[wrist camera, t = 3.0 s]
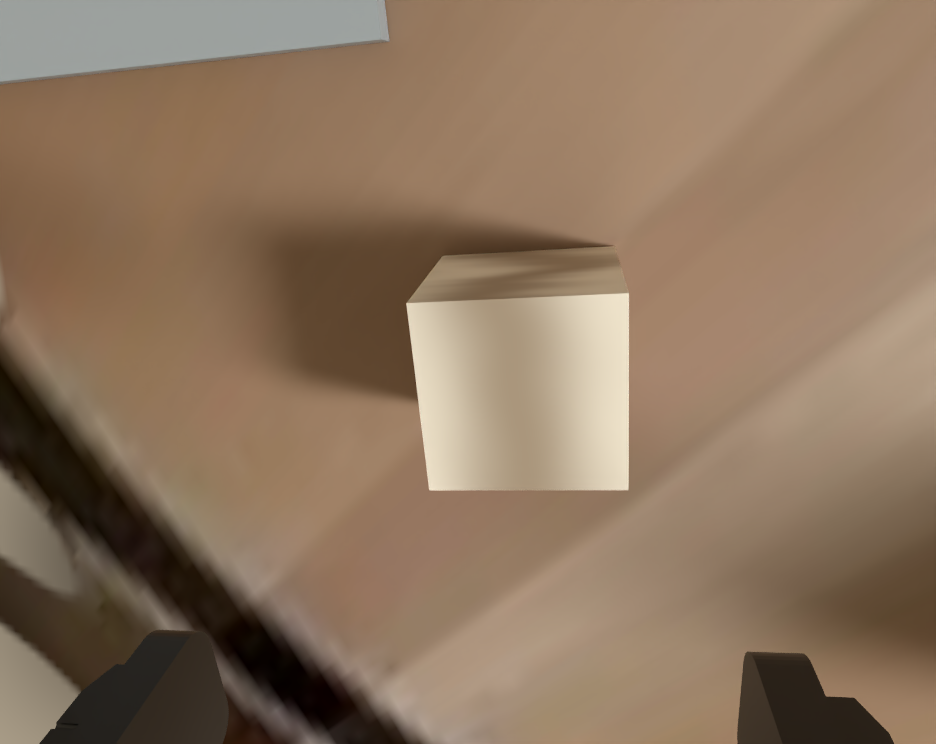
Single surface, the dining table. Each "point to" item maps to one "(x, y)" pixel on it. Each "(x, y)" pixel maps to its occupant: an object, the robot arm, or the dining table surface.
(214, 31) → the slate board
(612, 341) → the maple block
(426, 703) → the dining table surface
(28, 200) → the dining table surface
